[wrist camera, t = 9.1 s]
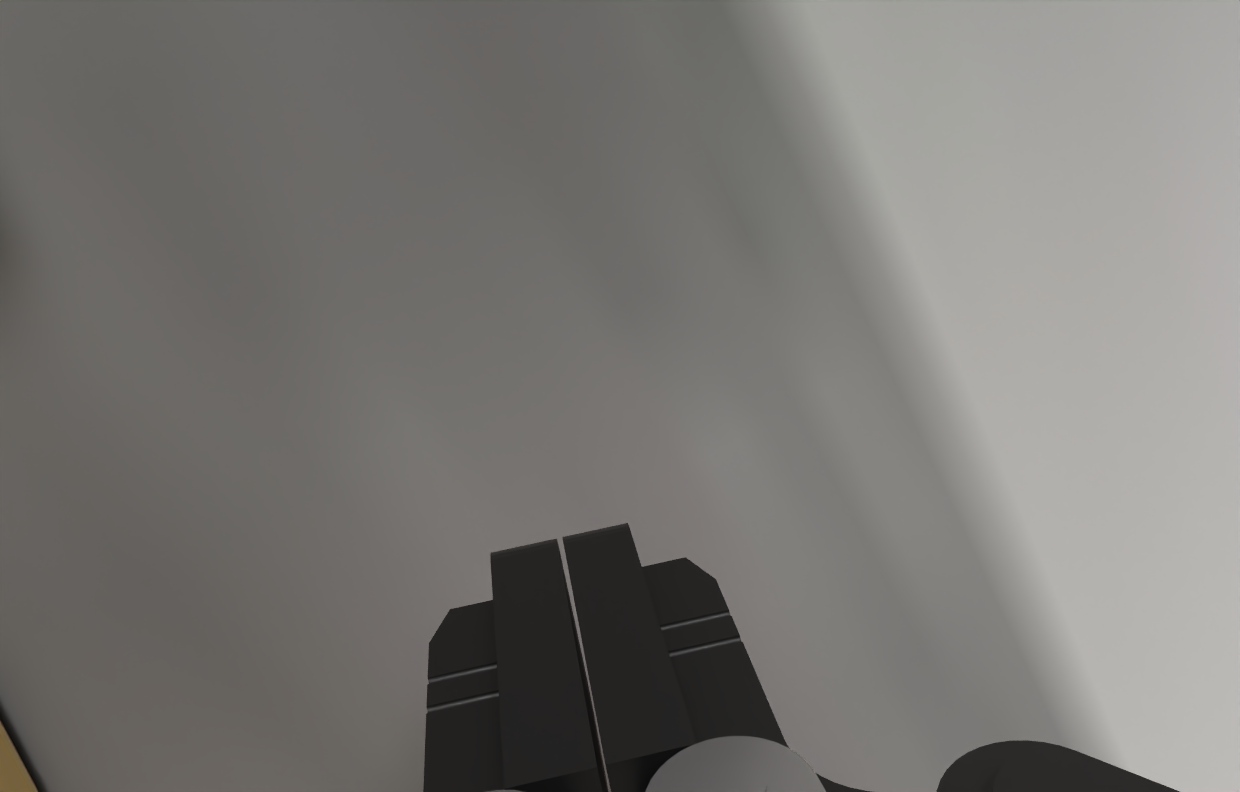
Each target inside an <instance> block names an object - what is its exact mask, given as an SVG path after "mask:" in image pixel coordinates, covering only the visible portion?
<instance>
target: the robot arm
mask: <svg viewBox="0 0 1240 792" xmlns="http://www.w3.org/2000/svg"><path fill="white" fill-rule="evenodd" d="M563 543H564V548H565V553H566V559H567V564H568V569H569V574H570V580H571V585H572V590H573V595H574V601H575V606H576V611H577V616H578V622H579V627H580V632H581V638H582V643H583V648H584V653H585V659H586V664H587V669H588V674H589V680H590V685H591V690H592V695H593V701H594V706H595V711H596V716H597V722H598V727H599V732H600V738H601V743H602V748H603V753H604V759H605V764H606V769H607V773H608V778H609V783H610V787H611V792H870V791H864V790H859V789H854V788H850V787H847V786H843V785H840V784H837V783H834V782H832V781H830V780H828V779H826V778H824V777H822V776H820V775H818V774H817V773H815V772H814V770H813V769H812V767H811V766H810V765H809V764H808V763H807V762H806V761H805V760H804V759H803V758H802V757H801V756H800V755H799V754H797V753H796V752H794V751H793V750H791V749H790V748H789V747H788V745H787V743H786V742H785V740H784V738H783V735H782V733H781V731H780V728H779V726H778V724H777V721H776V719H775V717H774V714H773V712H772V710H771V707H770V705H769V703H768V700H767V698H766V696H765V693H764V691H763V689H762V686H761V684H760V682H759V679H758V677H757V675H756V672H755V670H754V668H753V665H752V663H751V661H750V658H749V656H748V654H747V651H746V649H745V647H744V644H743V642H741V639H740V635H739V633H738V630H737V628H736V626H735V623H734V621H733V619H732V616H730V613H729V609H728V607H727V605H726V602H725V600H724V598H723V595H722V593H721V590H720V588H719V586H718V583H717V581H716V579H715V578H713V577H712V576H710V575H709V574H708V573H706V572H705V571H703V570H702V569H701V568H699V567H698V566H697V565H695V564H694V563H692V562H691V561H690V560H688V559H687V558H686V557H685V558H681V559H676V560H672V561H667V562H663V563H658V564H654V565H649V566H644V567H641V563H640V560H639V557H638V554H637V551H636V547H635V544H634V541H633V538H632V535H631V531H630V528H629V525H628V523H626V524H621V525H616V526H612V527H607V528H602V529H598V530H593V531H589V532H584V533H579V534H575V535H570V536H565V537H563ZM491 573H492V590H493V600H491V601H486V602H482V603H477V604H473V605H468V606H463V607H459V608H454V609H450V610H449V612H448V614H447V615H446V617H445V618H444V620H443V622H442V623H441V625H440V626H439V628H438V630H437V631H436V633H435V634H434V636H433V638H432V639H431V641H430V643H429V660H428V680H429V684H428V686H427V710H428V713H427V714H426V739H425V766H424V792H608V787H607V782H606V776H605V771H604V766H603V760H602V755H601V750H600V744H599V739H598V733H597V728H596V723H595V717H594V712H593V707H592V702H591V697H590V692H589V687H588V682H587V677H586V672H585V667H584V663H583V658H582V653H581V648H580V644H579V639H578V634H577V630H576V625H575V620H574V616H573V611H572V606H571V602H570V597H569V592H568V588H567V583H566V578H565V574H564V569H563V564H562V560H561V555H560V551H559V546H558V542H557V539H553V540H548V541H543V542H539V543H534V544H530V545H525V546H520V547H516V548H511V549H506V550H502V551H497V552H493V553H491ZM937 792H1179V791H1177V790H1174V789H1172V788H1169V787H1166V786H1164V785H1161V784H1159V783H1156V782H1154V781H1151V780H1149V779H1146V778H1144V777H1141V776H1138V775H1136V774H1133V773H1131V772H1128V771H1126V770H1123V769H1121V768H1118V767H1116V766H1113V765H1110V764H1108V763H1105V762H1103V761H1100V760H1098V759H1095V758H1093V757H1090V756H1088V755H1085V754H1082V753H1080V752H1077V751H1075V750H1071V749H1068V748H1065V747H1062V746H1059V745H1054V744H1050V743H1045V742H1036V741H1005V742H998V743H993V744H989V745H986V746H982V747H979V748H977V749H975V750H972V751H970V752H968V753H966V754H965V755H963V756H962V757H960V758H959V759H957V760H956V761H955V762H954V763H953V764H952V765H951V766H950V767H949V768H948V769H947V770H946V772H945V773H944V775H943V777H942V778H941V780H940V783H939V786H938V789H937Z"/></svg>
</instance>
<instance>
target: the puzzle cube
mask: <svg viewBox="0 0 1240 792" xmlns="http://www.w3.org/2000/svg"><path fill="white" fill-rule="evenodd" d="M0 792H39V791H38V789H37V787H36V785H35V783H34V781H33V779H32V778H31V776H30V774H29V772H28V770H27V768H26V766H25V765H24V763H23V761H22V759H21V757H20V755H19V753H18V751H17V750H16V748H15V746H14V744H13V742H12V740H11V738H10V737H9V735H8V733H7V731H6V729H5V727H4V725H3V723H2V722H1V720H0Z"/></svg>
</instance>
